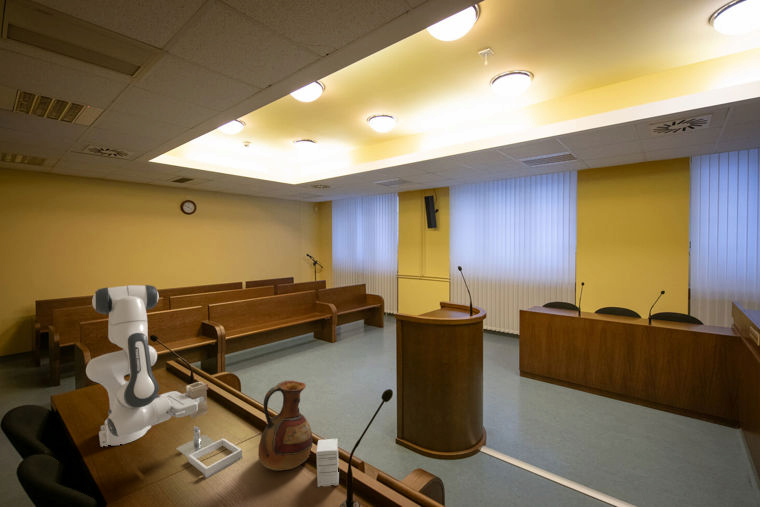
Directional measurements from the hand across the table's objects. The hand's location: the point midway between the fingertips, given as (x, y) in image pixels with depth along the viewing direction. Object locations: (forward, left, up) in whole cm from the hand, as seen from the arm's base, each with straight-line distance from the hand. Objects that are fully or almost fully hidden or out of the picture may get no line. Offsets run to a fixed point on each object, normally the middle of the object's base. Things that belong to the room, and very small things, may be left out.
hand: (198, 396), depth 141 cm
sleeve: (0, -1, -7) cm, 7 cm away
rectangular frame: (+14, -1, -22) cm, 26 cm away
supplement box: (+58, +17, -22) cm, 64 cm away
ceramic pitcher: (+37, +15, -22) cm, 46 cm away
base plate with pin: (-1, -1, -22) cm, 22 cm away
